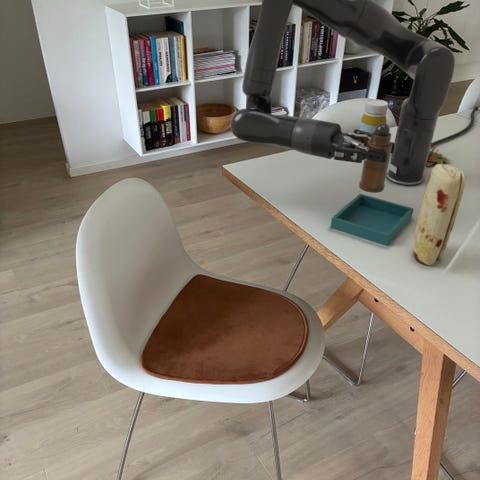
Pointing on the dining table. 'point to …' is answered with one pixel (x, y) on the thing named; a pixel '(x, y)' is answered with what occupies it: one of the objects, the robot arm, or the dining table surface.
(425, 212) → the food model
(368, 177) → the pepper mill
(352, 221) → the tray
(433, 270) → the dining table surface
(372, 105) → the bottle
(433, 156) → the lily flower
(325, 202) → the dining table surface
